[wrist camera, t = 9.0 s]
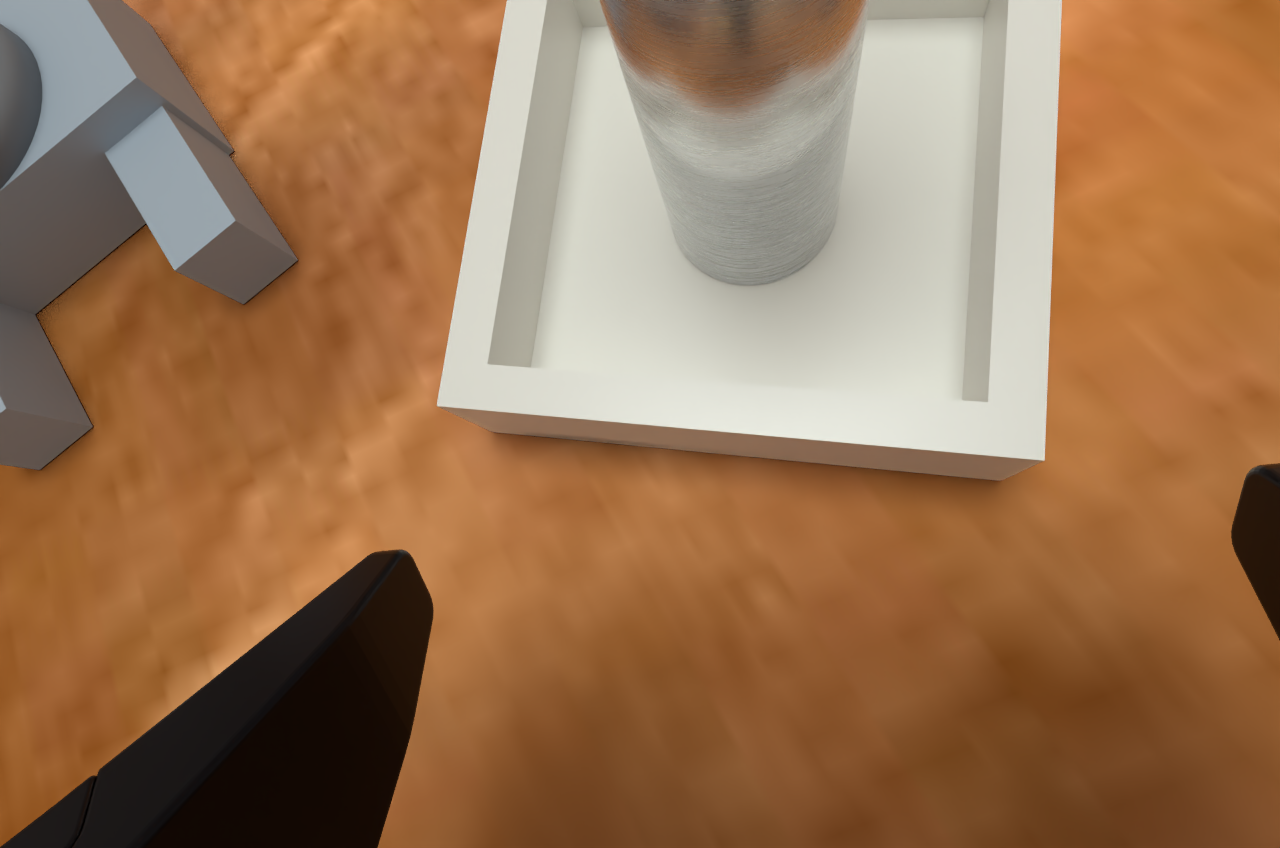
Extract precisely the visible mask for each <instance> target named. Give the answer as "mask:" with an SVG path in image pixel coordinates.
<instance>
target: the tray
mask: <svg viewBox="0 0 1280 848" xmlns="http://www.w3.org/2000/svg"><path fill="white" fill-rule="evenodd" d="M1061 10H1062V0H870V2H869V9H868V15H867V22H866V28H865V35H864V42H863V48H862V55H861V61H860V68H859V74H858V81H857V87H856V94H855V100H854V107H853V113H852V120H851V126H850V133H849V139H848V146H847V152H846V159H845V166H844V172H843V179H842V185H841V192H840V198H839V205H838V211H837V217H836V222H835V225H834V228H833V231H832V233H831V235H830V237H829V239H828V241H827V243H826V244H825V246H824V247H823V249H822V250H821V251H820V253H819V254H818V255H817V256H816V257H815V258H814V259H813V260H812V261H811V262H810V263H809V264H807V265H806V266H805V267H804V268H802V269H801V270H799V271H798V272H796V273H794V274H792V275H790V276H788V277H786V278H784V279H781V280H778V281H776V282H772V283H767V284H762V285H737V284H730V283H727V282H723V281H720V280H717V279H715V278H713V277H710V276H709V275H707V274H705V273H704V272H702V271H701V270H699V269H698V268H697V267H696V266H694V265H693V264H692V263H691V262H690V261H689V260H688V259H687V258H686V256H685V255H684V253H683V252H682V251H681V249H680V247H679V245H678V243H677V241H676V239H675V236H674V233H673V230H672V227H671V224H670V221H669V218H668V215H667V212H666V208H665V205H664V202H663V199H662V196H661V193H660V190H659V186H658V183H657V180H656V177H655V174H654V171H653V167H652V164H651V161H650V158H649V155H648V152H647V149H646V145H645V142H644V139H643V136H642V133H641V130H640V127H639V123H638V120H637V117H636V114H635V111H634V108H633V104H632V101H631V98H630V95H629V92H628V89H627V86H626V82H625V79H624V76H623V73H622V70H621V67H620V64H619V60H618V57H617V54H616V51H615V48H614V45H613V41H612V38H611V35H610V32H609V29H608V26H607V23H606V19H605V16H604V13H603V10H602V7H601V4H600V1H599V0H507V4H506V9H505V15H504V21H503V27H502V32H501V38H500V44H499V50H498V56H497V61H496V67H495V73H494V79H493V84H492V90H491V96H490V102H489V107H488V113H487V119H486V125H485V130H484V136H483V142H482V148H481V154H480V159H479V165H478V171H477V177H476V182H475V188H474V194H473V200H472V205H471V211H470V217H469V223H468V228H467V234H466V240H465V246H464V252H463V257H462V263H461V269H460V275H459V280H458V286H457V292H456V298H455V303H454V309H453V315H452V321H451V326H450V332H449V338H448V344H447V350H446V355H445V361H444V367H443V373H442V378H441V384H440V390H439V396H438V401H437V406H438V407H440V408H442V409H444V410H446V411H448V412H450V413H453V414H455V415H457V416H459V417H461V418H463V419H465V420H467V421H470V422H472V423H474V424H476V425H478V426H480V427H482V428H484V429H487V430H489V431H491V432H497V433H508V434H518V435H528V436H539V437H549V438H560V439H570V440H580V441H591V442H601V443H612V444H622V445H632V446H643V447H653V448H664V449H674V450H684V451H695V452H705V453H716V454H726V455H736V456H747V457H757V458H768V459H778V460H788V461H799V462H809V463H820V464H830V465H840V466H851V467H861V468H872V469H882V470H892V471H903V472H913V473H924V474H934V475H944V476H955V477H965V478H976V479H986V480H996V481H1002V480H1004V479H1006V478H1008V477H1010V476H1013V475H1015V474H1017V473H1019V472H1021V471H1023V470H1025V469H1028V468H1030V467H1032V466H1034V465H1036V464H1038V463H1040V462H1043V461H1044V460H1045V434H1046V407H1047V381H1048V354H1049V328H1050V301H1051V275H1052V248H1053V222H1054V195H1055V169H1056V142H1057V116H1058V89H1059V63H1060V36H1061Z"/></svg>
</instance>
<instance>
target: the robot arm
mask: <svg viewBox="0 0 1280 848" xmlns="http://www.w3.org/2000/svg"><path fill="white" fill-rule="evenodd" d="M1231 538H1232V544H1233V547H1234V551H1235V553H1236V555H1237V557H1238V559H1239V561H1240V563H1241V565H1242V567H1243V569H1244V571H1245V573H1246V575H1247V577H1248V579H1249V581H1250V583H1251V585H1252V587H1253V589H1254V591H1255V593H1256V595H1257V597H1258V599H1259V600H1260V602H1261V604H1262V606H1263V608H1264V610H1265V612H1266V614H1267V616H1268V618H1269V620H1270V622H1271V624H1272V626H1273V628H1274V630H1275V632H1276V634H1277V636H1278V638H1279V640H1280V463H1278V464H1267V465H1259V466H1257V467H1254V468H1252V469H1251V470H1250V471H1249V472H1248V474H1247V475H1246V478H1245V480H1244V484H1243V488H1242V491H1241V495H1240V499H1239V503H1238V506H1237V510H1236V514H1235V518H1234V521H1233V525H1232V531H1231ZM432 621H433V603H432V599H431V596H430V594H429V591H428V589H427V587H426V585H425V583H424V581H423V579H422V577H421V574H420V572H419V570H418V568H417V566H416V564H415V562H414V559H413V558H412V556H411V555H410V554H409V553H408V552H407V551H405V550H389V551H379V552H374V553H372V554H370V555H368V556H367V557H366V558H365V559H363V560H362V561H361V562H360V563H358V564H357V565H356V566H355V567H353V568H352V569H351V570H350V571H348V572H347V573H346V574H345V575H343V576H342V577H341V578H339V579H338V580H337V581H336V582H334V583H333V584H332V585H331V586H329V587H328V588H327V589H326V590H324V591H323V592H322V593H321V594H319V595H318V596H317V597H316V598H314V599H313V600H312V601H311V602H309V603H308V604H307V605H306V606H304V607H303V608H302V609H301V610H299V611H298V612H297V613H296V614H294V615H293V616H292V617H290V618H289V619H288V620H287V621H285V622H284V623H283V624H282V625H280V626H279V627H278V628H277V629H275V630H274V631H273V632H272V633H270V634H269V635H268V636H267V637H265V638H264V639H263V640H262V641H260V642H259V643H258V644H257V645H255V646H254V647H253V648H252V649H250V650H249V651H248V652H246V653H245V654H244V655H243V656H241V657H240V658H239V659H238V660H236V661H235V662H234V663H233V664H231V665H230V666H229V667H228V668H226V669H225V670H224V671H223V672H221V673H220V674H219V675H218V676H216V677H215V678H214V679H213V680H211V681H210V682H209V683H208V684H206V685H205V686H204V687H202V688H201V689H200V690H199V691H197V692H196V693H195V694H194V695H192V696H191V697H190V698H189V699H187V700H186V701H185V702H184V703H182V704H181V705H180V706H179V707H177V708H176V709H175V710H174V711H172V712H171V713H170V714H169V715H167V716H166V717H165V718H164V719H162V720H161V721H160V722H158V723H157V724H156V725H155V726H153V727H152V728H151V729H150V730H148V731H147V732H146V733H145V734H143V735H142V736H141V737H140V738H138V739H137V740H136V741H135V742H133V743H132V744H131V745H130V746H128V747H127V748H126V749H125V750H123V751H122V752H121V753H120V754H118V755H117V756H116V757H114V758H113V759H112V760H111V761H109V762H108V763H107V764H106V765H104V766H103V767H102V768H101V769H100V770H99V772H98V774H97V776H91V777H89V778H88V779H87V780H85V781H84V782H83V783H82V784H80V785H79V786H78V787H77V788H75V789H74V790H73V791H72V792H70V793H69V794H68V795H67V796H65V797H64V798H63V799H62V800H60V801H59V802H58V803H57V804H55V805H54V806H53V807H51V808H50V809H49V810H48V811H46V812H45V813H44V814H42V815H41V816H40V817H39V818H37V819H36V820H35V821H33V822H32V823H31V824H30V825H28V826H27V827H26V828H24V829H23V830H22V831H21V832H19V833H18V834H17V835H15V836H14V837H13V838H11V839H10V840H9V841H8V842H6V843H5V844H4V845H2V846H1V847H0V848H377V847H378V844H379V841H380V837H381V834H382V831H383V827H384V824H385V821H386V817H387V814H388V811H389V807H390V804H391V800H392V797H393V794H394V790H395V787H396V784H397V780H398V777H399V774H400V770H401V767H402V764H403V760H404V757H405V754H406V750H407V746H408V743H409V739H410V735H411V731H412V726H413V722H414V717H415V712H416V707H417V701H418V696H419V691H420V685H421V680H422V674H423V669H424V664H425V658H426V653H427V648H428V642H429V637H430V632H431V626H432Z"/></svg>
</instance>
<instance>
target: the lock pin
mask: <svg viewBox="0 0 1280 848" xmlns="http://www.w3.org/2000/svg"><path fill="white" fill-rule="evenodd" d="M599 1H600V4H601V7H602V10H603V13H604V16H605V19H606V23H607V26H608V29H609V32H610V35H611V38H612V41H613V45H614V48H615V51H616V54H617V57H618V60H619V64H620V67H621V70H622V73H623V76H624V79H625V82H626V86H627V89H628V92H629V95H630V98H631V101H632V104H633V108H634V111H635V114H636V117H637V120H638V123H639V127H640V130H641V133H642V136H643V139H644V142H645V145H646V149H647V152H648V155H649V158H650V161H651V164H652V167H653V171H654V174H655V177H656V180H657V183H658V186H659V190H660V193H661V196H662V199H663V202H664V205H665V208H666V212H667V215H668V218H669V221H670V224H671V227H672V230H673V233H674V236H675V239H676V241H677V243H678V245H679V247H680V249H681V251H682V252H683V253H684V255H685V256H686V258H687V259H688V260H689V261H690V262H691V263H692V264H693V265H694V266H696V267H697V268H698V269H699V270H701V271H702V272H704V273H705V274H707V275H709V276H710V277H713V278H715V279H717V280H720V281H723V282H727V283H730V284H737V285H762V284H767V283H772V282H776V281H778V280H781V279H784V278H786V277H788V276H790V275H792V274H794V273H796V272H798V271H799V270H801V269H802V268H804V267H805V266H806V265H807V264H809V263H810V262H811V261H812V260H813V259H814V258H815V257H816V256H817V255H818V254H819V253H820V251H821V250H822V249H823V247H824V246H825V244H826V243H827V241H828V239H829V237H830V235H831V233H832V231H833V228H834V225H835V222H836V217H837V211H838V205H839V198H840V192H841V185H842V179H843V172H844V166H845V159H846V152H847V146H848V139H849V133H850V126H851V120H852V113H853V107H854V100H855V94H856V87H857V81H858V74H859V68H860V61H861V55H862V48H863V42H864V35H865V28H866V22H867V15H868V9H869V2H870V0H599Z"/></svg>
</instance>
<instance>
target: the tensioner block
mask: <svg viewBox="0 0 1280 848" xmlns="http://www.w3.org/2000/svg"><path fill="white" fill-rule="evenodd" d="M233 151H234V150H233V149H232V147H231V145H230V144H229V142H228V141H227V139H226V138H225V136H224V135H223V133H222V132H221V130H220V129H219V127H218V126H217V124H216V123H215V121H214V120H213V118H212V117H211V115H210V114H209V112H208V111H207V109H206V108H205V106H204V105H203V103H202V102H201V100H200V99H199V97H198V96H197V94H196V93H195V91H194V90H193V88H192V87H191V85H190V84H189V82H188V81H187V79H186V78H185V76H184V75H183V73H182V72H181V70H180V69H179V67H178V66H177V64H176V63H175V61H174V60H173V58H172V57H171V55H170V54H169V52H168V51H167V49H166V48H165V46H164V45H163V43H162V41H161V40H160V38H159V37H158V35H157V34H156V32H155V31H154V29H153V28H152V26H151V25H150V24H149V23H148V22H147V21H146V20H144V19H143V18H142V17H141V16H140V15H139V14H137V13H136V12H135V11H134V10H133V9H132V8H130V7H129V6H128V5H127V4H126V3H124V2H123V1H122V0H0V465H7V466H14V467H22V468H29V469H36V470H40V469H42V468H43V467H44V466H45V465H46V464H48V463H49V462H50V461H51V460H53V459H54V458H55V457H56V456H58V455H59V454H60V453H61V452H62V451H64V450H65V449H66V448H67V447H69V446H70V445H71V444H72V443H74V442H75V441H76V440H77V439H78V438H80V437H81V436H82V435H83V434H85V433H86V432H87V431H88V430H90V429H91V428H92V427H93V426H92V424H91V422H90V421H89V419H88V417H87V415H86V413H85V411H84V409H83V407H82V405H81V403H80V401H79V399H78V397H77V395H76V393H75V391H74V389H73V387H72V386H71V384H70V382H69V380H68V378H67V376H66V374H65V372H64V370H63V368H62V366H61V364H60V362H59V360H58V358H57V356H56V354H55V353H54V351H53V349H52V347H51V345H50V343H49V341H48V339H47V337H46V335H45V333H44V331H43V329H42V327H41V325H40V323H39V321H38V320H37V318H36V316H35V314H36V313H38V312H39V311H40V310H41V309H43V308H44V307H45V306H46V305H47V304H49V303H50V302H51V301H52V300H53V299H55V298H56V297H57V296H58V295H60V294H61V293H62V292H63V291H64V290H66V289H67V288H68V287H69V286H70V285H72V284H73V283H74V282H75V281H77V280H78V279H79V278H80V277H81V276H83V275H84V274H85V273H86V272H87V271H89V270H90V269H91V268H92V267H94V266H95V265H96V264H97V263H98V262H100V261H101V260H102V259H103V258H104V257H106V256H107V255H108V254H109V253H111V252H112V251H113V250H114V249H115V248H117V247H118V246H119V245H120V244H121V243H123V242H124V241H125V240H126V239H128V238H129V237H130V236H131V235H132V234H134V233H135V232H136V231H137V230H138V229H140V228H141V227H142V226H143V225H145V224H146V223H147V225H148V227H149V228H150V230H151V232H152V234H153V235H154V237H155V239H156V240H157V242H158V244H159V245H160V247H161V249H162V250H163V252H164V254H165V255H166V257H167V259H168V260H169V262H170V264H171V265H172V267H173V269H174V270H175V271H176V272H178V273H180V274H183V275H185V276H187V277H189V278H191V279H193V280H195V281H197V282H199V283H201V284H203V285H205V286H207V287H209V288H211V289H213V290H215V291H217V292H219V293H221V294H223V295H225V296H227V297H229V298H231V299H234V300H236V301H238V302H240V303H242V304H245V303H246V302H247V301H248V300H250V299H251V298H252V297H253V296H254V295H256V294H257V293H258V292H259V291H261V290H262V289H263V288H264V287H266V286H267V285H268V284H269V283H270V282H272V281H273V280H274V279H275V278H277V277H278V276H279V275H280V274H282V273H283V272H284V271H285V270H286V269H288V268H289V267H290V266H291V265H293V264H294V263H295V262H296V261H298V259H297V258H296V256H295V255H294V253H293V252H292V250H291V249H290V247H289V246H288V244H287V243H286V241H285V239H284V238H283V236H282V235H281V233H280V232H279V230H278V229H277V227H276V226H275V224H274V223H273V221H272V220H271V218H270V217H269V215H268V214H267V212H266V211H265V209H264V208H263V206H262V205H261V203H260V202H259V200H258V199H257V197H256V195H255V194H254V192H253V191H252V189H251V188H250V186H249V185H248V183H247V182H246V180H245V179H244V177H243V176H242V174H241V173H240V171H239V170H238V168H237V167H236V165H235V164H234V162H233V161H232V159H231V158H230V156H229V155H230V154H231V153H232V152H233Z"/></svg>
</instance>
